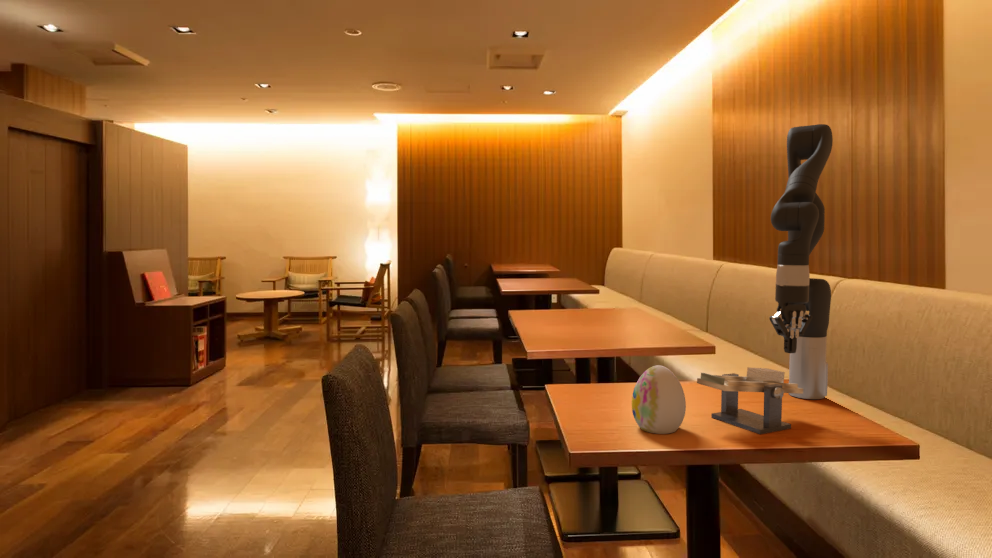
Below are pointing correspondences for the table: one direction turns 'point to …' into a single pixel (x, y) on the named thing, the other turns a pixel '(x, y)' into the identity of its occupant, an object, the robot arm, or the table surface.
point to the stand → (750, 419)
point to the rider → (764, 375)
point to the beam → (742, 384)
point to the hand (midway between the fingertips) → (789, 352)
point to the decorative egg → (658, 401)
